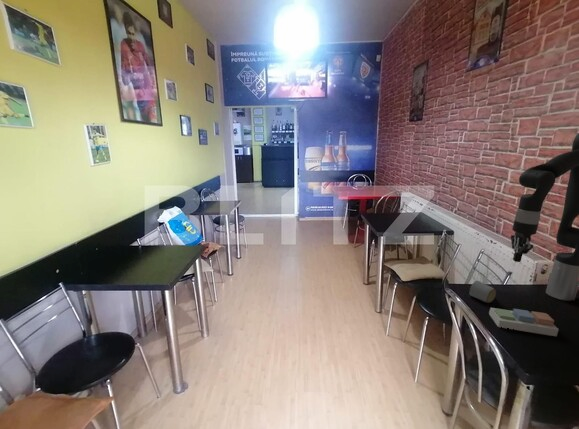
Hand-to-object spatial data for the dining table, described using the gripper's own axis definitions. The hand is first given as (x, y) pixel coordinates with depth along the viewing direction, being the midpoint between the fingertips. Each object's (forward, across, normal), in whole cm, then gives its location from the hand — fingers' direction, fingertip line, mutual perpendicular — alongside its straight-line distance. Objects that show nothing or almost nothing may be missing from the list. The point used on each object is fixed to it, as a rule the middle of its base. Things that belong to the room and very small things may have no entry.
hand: (516, 261), depth 119 cm
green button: (+21, -11, +5) cm, 24 cm away
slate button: (+20, -12, -1) cm, 23 cm away
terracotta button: (+20, -11, -7) cm, 24 cm away
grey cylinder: (+22, +6, +7) cm, 24 cm away
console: (+22, -12, -1) cm, 25 cm away
